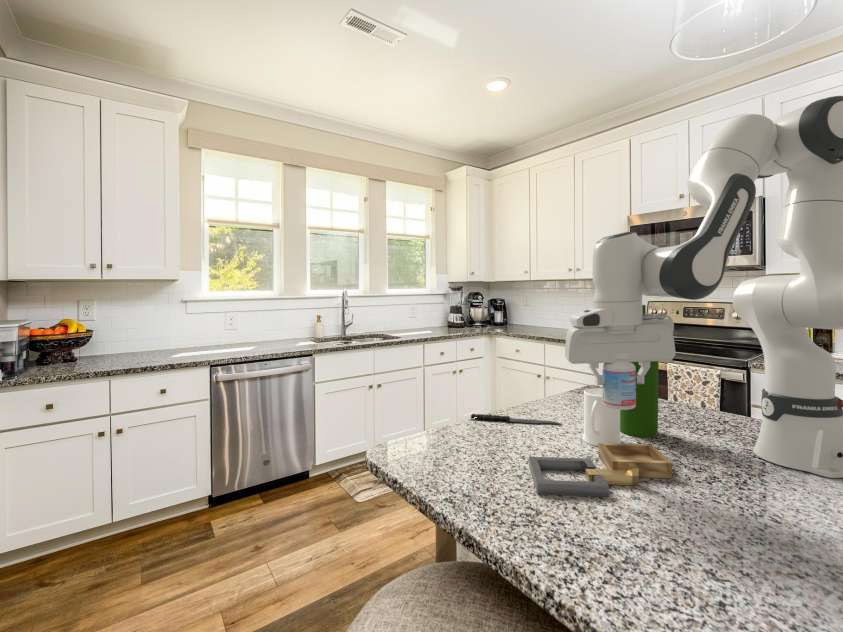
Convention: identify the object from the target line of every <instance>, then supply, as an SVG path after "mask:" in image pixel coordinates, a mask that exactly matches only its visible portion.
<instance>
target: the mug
mask: <svg viewBox="0 0 843 632" xmlns="http://www.w3.org/2000/svg"><path fill="white" fill-rule="evenodd" d="M582 441H584V443H586V444H588V445H589V446H590V445H591V446H593V447H598V443H613V444H622V440H621V431H620V410H619V409H613V408H608V407H606V406H604V404H603V388H590V389H589V388H588V389H585V390H584V391H583V436H582Z"/></svg>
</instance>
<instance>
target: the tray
mask: <svg viewBox="0 0 843 632" xmlns="http://www.w3.org/2000/svg"><path fill="white" fill-rule="evenodd" d="M597 449H598V450H597V451H598V452H597V455H598V456H597V457H598V459H599V460H600V461H601V462H602V464H603V465H604V467H605V469H609V470H627V463H634V464H635V465H636V466H637V467H638V469H639V478H651V479H652V478H653V479H654V478H657V479H673V462H672V461H671V460H669V459H668V458H667V457H666V455H664V454H663V453H662V452H661V451H659V450H658V449H657V448H656V447H655V446H654V445H652V444H651V443H650V444H645V443H621V444H613V443H598V446H597Z"/></svg>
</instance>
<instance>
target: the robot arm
mask: <svg viewBox="0 0 843 632" xmlns="http://www.w3.org/2000/svg"><path fill="white" fill-rule="evenodd" d="M692 167H693V168H692V169H691V171H690V174H689V176H688V179H687V182H686V184H687V190H688V192H689V194H690V196H691V197H692V199H693V200H695V202H697V204H699V205H701V206H703V207H704V208H706V209H708V210H707V212H706V214H705V216H704V217H703V220H702V221H701V224H700V225H699V227H698V229H697V231H696V233H695V235H694V236H693V237H692V238H690V239H689V240H686V241H685V242H682V243H680V244H677V245H671V246H665V247H659V246H658V245H654V244H651V243H649V242H647V241H646V240H644V239H642V238H641V237H639V236H638V234H637V232H635V231H624V232H620V233H616V234H612V235H608V236H604V237H601V238H600V239H599V240H598V241H596V243H595V245H594V248H593V253H592V282H593V285H594V295H593V298H592V301H593V303H592V305H593V306H592V307H590V308H588V309H584V310H581V311H579V312H575V313H573V314H571V315H570V317H569V322H570V324H571V325H572V326H571V327H570V328H569V329H568V330H567V332H566V336H565V345H564V346H565V347H564V354H565V355H564V357H565V359H566V360H567V362H569V363H570V364H572V365H581V364H586V365H587V364H588V369H590V371H591V373H592V374H593V375H594V383H595V385H597V386H603V385H605V376H603V374H600V373H599V372H598V369H599V368H600V364H604V363H615V362H616V361H617V360H615V358H614V357H615V355H614V354H615V353H626V352H628V353H629V358H628V359H629V360H627V361H628V362H639V365H640V366H641V368H640V370H639V372H638V373H637V374H636V384H644V375H646V373H647V371H648V370H649V368H650V361H659V362H670V361H671V362H672V361H673V360H674V358H675V356H676V347H675V346H676V345H675V338H674V330H675V322H674V320H673V318H672V317H671V316H670V315H666V313H656V314H655V313H646V314H643V312H642V305H643V296H646V297H647V296H648V297H661V298H664V297H665V298H678V299H684V300H685V299H686V300H691V301H696V300H701V299H704V298H706V297H708V296H710V295H711V294H712V293H714V291H716V289H718V287H719V285H720V284H721V282H722V280H723V278H724V275H725V270H726V267H727V263H728V259H729V256H730V253H731V250H732V248H733V247H734V244H735V243H736V240H737V238H738V236H739V234H740V232H741V230H742V228H743V226H744V224H745V222H746V220H747V217H748V216H749V213H750V211H751V210H752V207H753V204H754V202H755V199H756V193H757V188H756V184H755V182H756V180H757V179H767V178H771V177H773V176H774V175H779V174H783V173H784V174H786V176H787V179H788V188H787V190H786V194H785V197H784V202H783V206H782V207H783V208H782V212H781V219H780V223H779V230H778V234H777V243H778V246H779V248H780V249H781V250H782V251H783V252H785V253H786V254H787V255H789V256H792V257H794V258H796V259H797V260H799V263H800V270H799V271H800V272H799V273H798V274H779V275H775V274H774V275H773V274H772V275H764V276H759V277H755V278H750V279H747V280H744V281H742V282H740V284H738V286H737V287H736V288H735V291H734V292H733V295H732V307H733V309H734V311H735V314H736V315H737V316H738V317H739V318H740V319H742V321H744V322H745V323H747V325H748V326H749V327H750V328H751V329H752V331H753V332H754V333H755V336H756V337H757V340H758V342H759V344H760V346H761V351H762V354H763V358H764V359H763V360H764V361H763V363H764V388H763V389H762V390H761V403H760V404H761V414H762V416H761V424H760V430H759V434H758V436H757V437H758V438H757V440H756V443H755V445H754V448H753V449H752V451H753V453H754V454H755V455H756V456H757V457H758V458H761V459H763V460H764V461H768V462H769V463H772V464H775V465H779V466H781V467H782V466H783V467H785V468H791V469H794V470H799V471H804V472H806V473H807V472H808V473H812V474H814V475H818V476H822V477H826V478H830V479H840V478H843V399H842V398H840V397H838V396H836V377H837V375H836V374H837V363H836V360H835V358H834V356H833V355H832V354H831V353H830V352H829V351H827V350H826V349H824V348H822V347H820V346H818V344H816V343H815V342H814V341H813V340H812V339H811V337H810V336H809V334H808V331H807V328H810V329H819V330H820V329H822V330H834V331H835V330H836V331H837V330H838V331H839V330H843V95H834V96H833V95H832V96H829V97H825V98H821V99H818V100H816V101H813V102H811V103H810V104H808V105H806V106H803V107H800V108H797V109H795V110H792V111H789V112H787V113H786V114H784V115H781V116H779V117H777V119H775V120H772V119H771V118H769V117H767V116H765V115H762V114H756V113H750V114H748V113H747V114H743V115H740V116H738V117H736V118H734V119H732V120H730V122H728V124H726V126H725V127H723V128H722V130H721V131H720V132H719V133H718V134H717V135H716V136H715V137H714V138H713V140H712V141H710V143H709V145H707V147H706V148H705V150H704V151H703V152H702V153H701V155H700V156H699V158H698V160H697V161H696V162H695V164H694V166H692Z"/></svg>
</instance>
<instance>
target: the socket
mask: <svg viewBox="0 0 843 632" xmlns="http://www.w3.org/2000/svg"><path fill="white" fill-rule="evenodd" d="M528 467H529V471H530V474H531V478H532V481H533V484H534V488H535V491H536V495H548V496H549V495H551V496H573V497H574V496H577V497H598V498H599V497H601V498H602V497H603V498H609V497H610V493H609V492H610V490H609V489H610V485H609V484H607V483H606V481H605V480H604V478H603V477H602V476H595V475H594V482H587V481H583V480H555V479H545V478H544V475H543V473H542V470H548V471H549V470H551V471H553V470H554V471H579V472H580V471H583V472H585V469H597V466H596V464H595V463H594V462H593V460H592V459H591V458H584V457H582V458H581V457H554V456H553V457H552V456H551V457H549V456H547V457H545V456H528Z"/></svg>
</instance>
